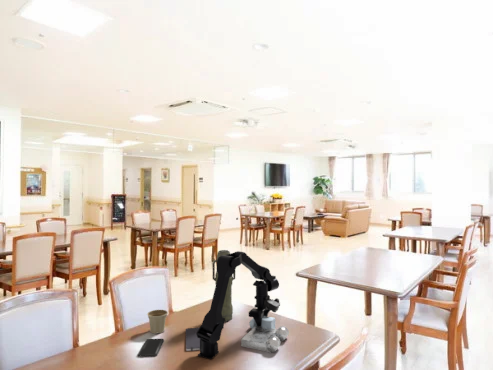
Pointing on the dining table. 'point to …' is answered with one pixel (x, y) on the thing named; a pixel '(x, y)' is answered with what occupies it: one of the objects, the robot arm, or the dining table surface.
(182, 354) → the dining table surface
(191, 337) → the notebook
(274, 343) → the steel hinge leaf
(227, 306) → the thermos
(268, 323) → the blue-grey hinge leaf
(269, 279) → the robot arm
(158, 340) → the phone
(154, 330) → the flower pot
